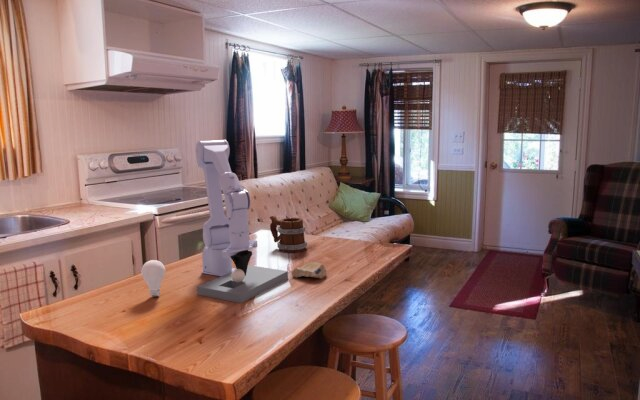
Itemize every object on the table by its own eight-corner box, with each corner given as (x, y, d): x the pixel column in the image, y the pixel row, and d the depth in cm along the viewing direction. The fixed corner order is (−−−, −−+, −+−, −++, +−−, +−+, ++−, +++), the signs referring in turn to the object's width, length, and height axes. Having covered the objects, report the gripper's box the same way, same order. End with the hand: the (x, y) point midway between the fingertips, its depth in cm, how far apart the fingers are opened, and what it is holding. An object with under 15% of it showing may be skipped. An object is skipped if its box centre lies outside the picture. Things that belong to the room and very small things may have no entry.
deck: (197, 294, 150) (197, 286, 149) (247, 272, 170) (247, 264, 170) (240, 303, 142) (240, 294, 141) (288, 278, 162) (287, 271, 162)
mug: (302, 254, 190) (294, 214, 189) (268, 257, 196) (261, 219, 194) (314, 246, 201) (306, 209, 200) (282, 249, 207) (275, 213, 205)
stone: (314, 283, 158) (314, 269, 157) (289, 277, 164) (289, 264, 164) (331, 276, 164) (330, 263, 164) (306, 271, 171) (305, 258, 170)
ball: (227, 269, 152) (238, 266, 155) (229, 283, 152) (239, 279, 155) (236, 271, 149) (246, 267, 152) (237, 284, 150) (248, 280, 153)
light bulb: (171, 294, 151) (169, 258, 149) (157, 301, 144) (154, 264, 143) (152, 292, 153) (150, 256, 151) (138, 299, 147) (135, 262, 145)
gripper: (234, 237, 143) (237, 284, 145) (264, 227, 156) (266, 270, 158) (215, 235, 147) (218, 281, 149) (245, 226, 159) (248, 268, 161)
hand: (242, 275), depth 154 cm, fingers closed, pressing on ball
